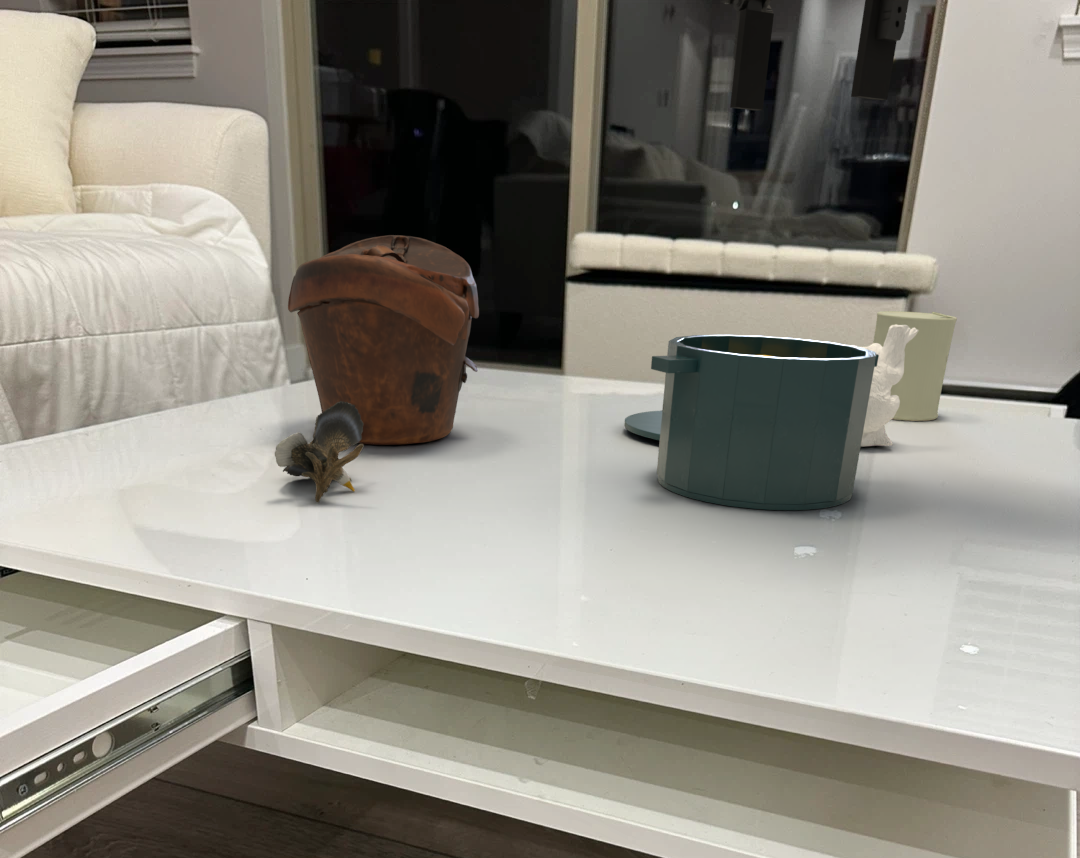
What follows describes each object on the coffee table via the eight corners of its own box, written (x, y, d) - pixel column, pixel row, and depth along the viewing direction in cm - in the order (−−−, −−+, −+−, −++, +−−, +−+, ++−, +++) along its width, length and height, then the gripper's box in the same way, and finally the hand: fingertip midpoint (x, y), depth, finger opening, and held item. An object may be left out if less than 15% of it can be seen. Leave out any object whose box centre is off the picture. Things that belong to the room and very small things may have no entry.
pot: (916, 498, 90) (945, 356, 85) (709, 521, 80) (727, 362, 75) (788, 458, 103) (805, 333, 98) (595, 473, 93) (604, 336, 88)
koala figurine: (879, 437, 115) (900, 320, 110) (920, 450, 109) (944, 327, 104) (814, 440, 112) (832, 320, 107) (852, 453, 106) (873, 327, 101)
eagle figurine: (393, 487, 80) (384, 442, 87) (338, 410, 76) (334, 369, 83) (310, 538, 81) (308, 489, 88) (252, 465, 77) (255, 420, 84)
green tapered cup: (935, 423, 125) (957, 316, 119) (856, 415, 127) (874, 310, 122) (938, 412, 132) (959, 311, 127) (863, 405, 135) (880, 305, 130)
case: (344, 461, 93) (336, 238, 85) (268, 421, 108) (255, 229, 100) (517, 447, 102) (524, 244, 94) (424, 412, 117) (423, 235, 109)
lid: (829, 447, 108) (835, 406, 107) (688, 458, 100) (693, 413, 99) (723, 417, 122) (727, 380, 120) (592, 425, 114) (595, 385, 113)
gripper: (694, -223, 78) (667, 108, 87) (961, -359, 58) (889, 87, 67) (773, -201, 81) (739, 116, 90) (1051, -322, 61) (971, 97, 71)
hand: (803, 104), depth 79 cm, fingers open, 13 cm apart
